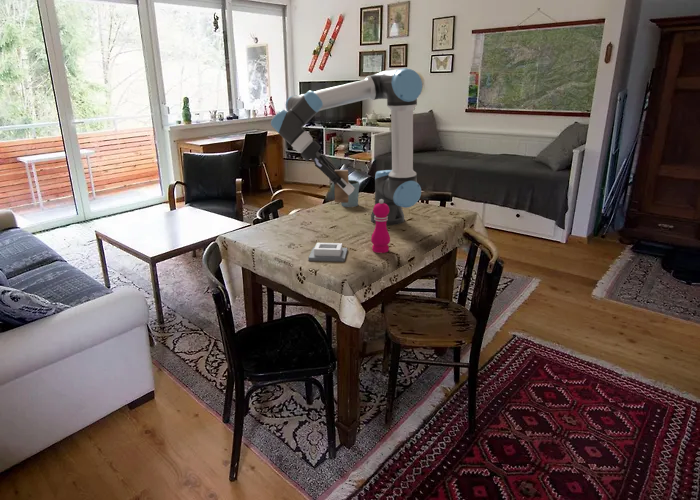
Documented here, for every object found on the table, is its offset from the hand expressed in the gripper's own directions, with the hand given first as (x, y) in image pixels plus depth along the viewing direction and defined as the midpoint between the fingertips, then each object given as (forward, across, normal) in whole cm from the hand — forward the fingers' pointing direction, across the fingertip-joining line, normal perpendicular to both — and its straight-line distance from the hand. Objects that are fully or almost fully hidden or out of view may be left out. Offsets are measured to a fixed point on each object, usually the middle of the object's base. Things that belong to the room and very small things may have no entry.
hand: (351, 191), depth 176 cm
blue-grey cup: (+10, -59, -20) cm, 64 cm away
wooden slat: (0, 0, -6) cm, 6 cm away
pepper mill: (+23, +6, -7) cm, 25 cm away
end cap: (+10, +13, -20) cm, 26 cm away
